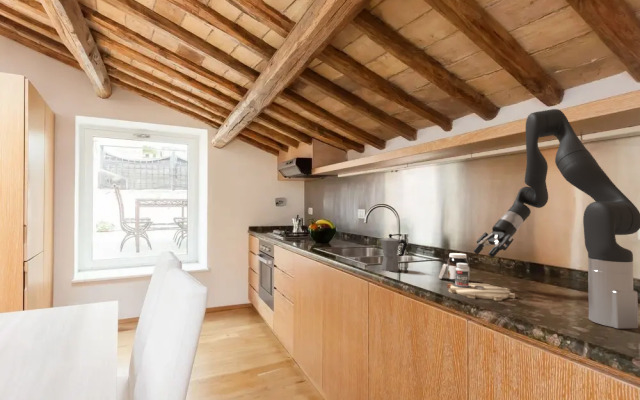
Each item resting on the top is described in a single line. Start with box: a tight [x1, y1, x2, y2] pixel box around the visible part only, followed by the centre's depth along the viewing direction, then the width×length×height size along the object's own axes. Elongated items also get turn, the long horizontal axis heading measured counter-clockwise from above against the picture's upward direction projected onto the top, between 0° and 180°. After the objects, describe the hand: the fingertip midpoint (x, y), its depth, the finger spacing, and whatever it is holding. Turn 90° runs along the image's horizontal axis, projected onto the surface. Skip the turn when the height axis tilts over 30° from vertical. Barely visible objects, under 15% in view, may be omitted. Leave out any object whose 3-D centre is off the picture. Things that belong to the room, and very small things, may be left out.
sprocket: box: [446, 282, 516, 301], centre depth 121 cm, size 23×23×2 cm
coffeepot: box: [378, 233, 408, 272], centre depth 165 cm, size 15×9×18 cm, turn 51°
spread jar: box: [438, 252, 470, 283], centre depth 141 cm, size 12×11×12 cm
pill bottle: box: [454, 263, 470, 287], centre depth 126 cm, size 5×5×8 cm
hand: (482, 254), depth 127 cm, fingers open, 8 cm apart
